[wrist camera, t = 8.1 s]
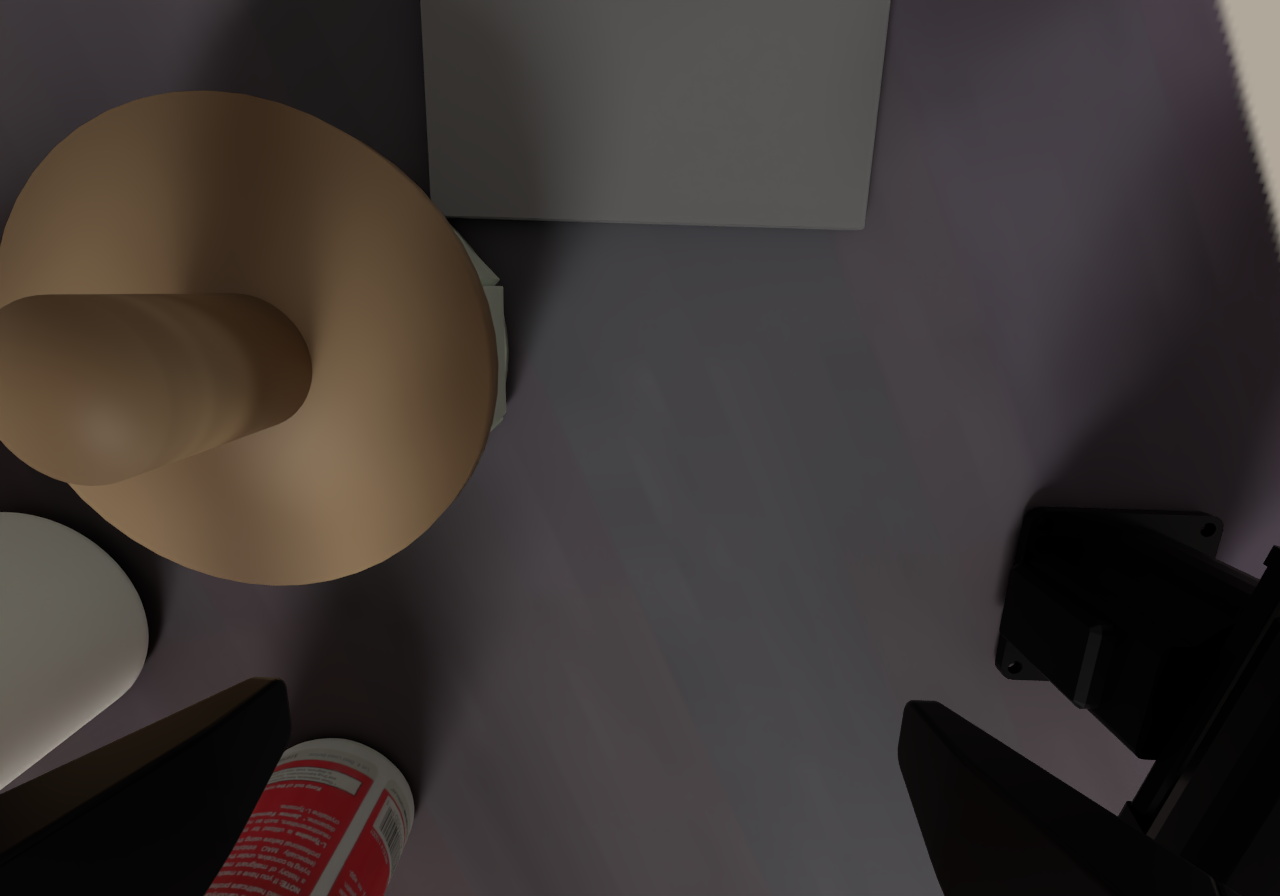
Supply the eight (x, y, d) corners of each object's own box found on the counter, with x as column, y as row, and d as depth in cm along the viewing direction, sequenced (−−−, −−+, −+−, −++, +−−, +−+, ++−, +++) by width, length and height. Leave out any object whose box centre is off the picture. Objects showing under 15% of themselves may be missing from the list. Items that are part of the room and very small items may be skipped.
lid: (490, 110, 14) (393, -1, 9) (505, 574, 17) (440, 706, 12) (-15, 97, 14) (-423, -22, 9) (87, 563, 17) (-171, 688, 12)
